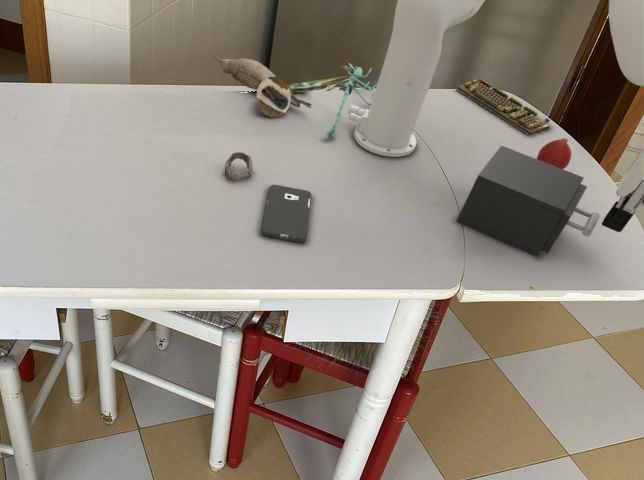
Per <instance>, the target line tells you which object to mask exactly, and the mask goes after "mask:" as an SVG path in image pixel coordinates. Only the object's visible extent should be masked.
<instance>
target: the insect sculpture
mask: <svg viewBox="0 0 644 480" xmlns="http://www.w3.org/2000/svg"><path fill="white" fill-rule="evenodd" d="M348 65H349V66H348ZM348 65H343V66H342V67H343V69H344V70H346V71H347V73H348V75H344V76H337V77H330V78H321V79H314V80H307V81H300V82H295V83H294V82H293V83H290V84H287V86H288V88H289V90H290V91H291V92H292V94H296V93H306V92H313V91H320V90H324V89H326V92H331V91H333V90H335V89H336V88H338V87H339V86H340V87H339V89H338V91H341V92H343V93H344V94H343V98H342V101H341V104H340V107H339V108H338V111H337V114H336V117H335V119H334V122H333V124H332V125H331V128H330V129H329V131H328V132H326V134H327V136H326V138H325V139H324V141H326V140H328V138H329V137H333V138H336V137H335V133H336V126H337V123H338V121H339V118H340V116H341V114H342V110H343V108H344V105H345V102H346V100H347V98H348V96H350V95H351V94H352V92H353V91H354V92H355V93H356V94H357V95H358V96H359V97H360V98H361V99H362V100H363V101H364V103H366V105H368V106H369V107H370V106H371V103H372V102H369V101H367V99H366V98H364V96H363V95H362V94H361V93H360V91H358V89H357V88H356V87H358V88H360V89H362V90H364V91H365V90H366V88H367V89H368V90H371V91H373V90H374V89H376V87H377V84H378V81H377V82H376V83H375V84H374V86H369V85H370V81H367V83H364V82H363V81H361V79H358V78H360V77H361V78H368V76H369V74H370V73H371V72H372V70H373V68H372V67H370V69H369V70H368V71H367V74H366V75H363V68H362V67H361V66H360V65H354V64H352V63H349V62H348ZM381 71H382V69H381V70H380V72H381ZM345 78H346V79H345ZM357 83H360V84H361V85H363V86H364V87H363V86H361V85H360V84H357ZM338 84H339V85H338Z"/></svg>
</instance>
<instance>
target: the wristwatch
mask: <svg viewBox="0 0 644 480" xmlns="http://www.w3.org/2000/svg"><path fill="white" fill-rule="evenodd" d="M238 159H239V160H243V162H244V163H245V164H246V169H242V170H240V171H238V172H236V173H235V172H230V168H231V167H232V163H233V162H234V160H238ZM253 171H254V163H253V157H252V156H251V155H249V154H247V153H245V152H241V151H235V152H233V153H231V155H230V156H229V158H228V159H227V160H226V162H225V164H224V174H225V176H226V178H228V179H229V180H232V181H237V180H239V179H242V178H247V177H250V176H251V175H252V174H253Z"/></svg>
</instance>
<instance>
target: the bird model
mask: <svg viewBox="0 0 644 480" xmlns="http://www.w3.org/2000/svg"><path fill="white" fill-rule="evenodd" d="M212 57H213V58H214V59H215V60H217V62H219V63H220V68H221V71H222V72H223V73H226V74H231V77H232V78H233V79H234V80H236V81H238V82H239V83H241V84H242V85H243V86H245V87H247V88H249V89H252V90H254V91H257V90H258V87H259V85H260V84H261V82H262V81H263V80H264V79H266V78H268V77H277V76H276V75H275V74H274V73H273V72H272V71H271V70H269V68H268V67H267V66H265V65H263V64H262V63H261V62H260V61H258V60H255V59H250V58H238V59H231V58H230V59H229V58H225V59H220V58H219V57H217V56H215V55H212ZM290 93H291V101H290V105H291V106H293V107H296V108H298V109H300V108H301V104H302V105H304V106H306V107H307V108H309V109H311V108H312V106H313V104H312V103H310V102H307V101H305V100H303V99H299V98H298V97H297V96H296V95H294V93H292V92H291V91H290Z"/></svg>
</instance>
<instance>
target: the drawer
mask: <svg viewBox="0 0 644 480" xmlns="http://www.w3.org/2000/svg"><path fill="white" fill-rule="evenodd" d="M587 189H588V186H587V185H585V184H582V183H581V184H580V186H579V187H578V189H577V191H576V193H575V195H574V196H573V198H572V200H571V202H570V203H569V205H568V207H567V209H566V211H565V212H564V214H563V216H562V217H561V219H560V220H559V222H558V224H557V225H556V227H555V229H554V230H553V232H552V233H551V235H550V237H549V238H548V240H547V242H546V243H545V245H544V247H543V248H542V250H541V251H540V252H542V253H544V254H547V255H548V254H549V253H550V251H551V249H552V248H553V246H554V244H555V243H556V241H557V240H558V239H559V236H560V235H561V234H562V232H563V230H564V228H565V227H566V226H568V227H570V228H573V229H576V230H578V231H580V232H581V234H582V235H583V236H585V237H589V236H591V235H592V233H593V232H594V229H595V227H596V226H597V223H598V221H599V219H600V217H601V216H600V214H599V212H592V213H591V212H589V211H586V210H584V209H582V208H579V207H578V204H579V202H581V199H582V197H583V195H584V194H585V192H586V190H587ZM574 212H575V213H577V214H578V215H580V216H581V215H582V216H583V217H587V218H588V219H587V222H586V223H585V225H584V226H583V225H580V224H578V223H576V222H573V221H571V220H570V219H571V217H572V216H573V213H574Z"/></svg>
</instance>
